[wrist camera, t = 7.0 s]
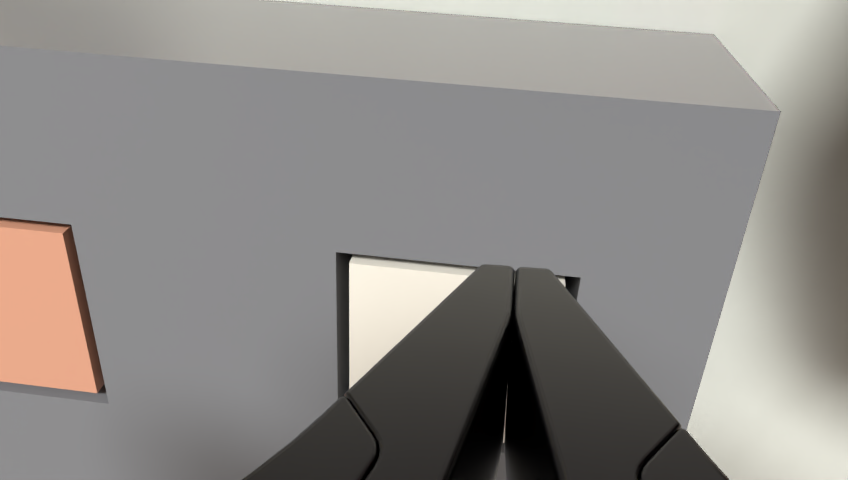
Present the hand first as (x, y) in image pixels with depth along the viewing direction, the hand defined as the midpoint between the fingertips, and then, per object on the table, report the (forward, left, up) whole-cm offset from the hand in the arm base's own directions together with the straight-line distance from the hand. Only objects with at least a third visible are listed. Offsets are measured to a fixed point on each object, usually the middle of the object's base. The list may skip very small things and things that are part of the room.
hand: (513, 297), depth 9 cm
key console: (+7, +7, -13) cm, 16 cm away
